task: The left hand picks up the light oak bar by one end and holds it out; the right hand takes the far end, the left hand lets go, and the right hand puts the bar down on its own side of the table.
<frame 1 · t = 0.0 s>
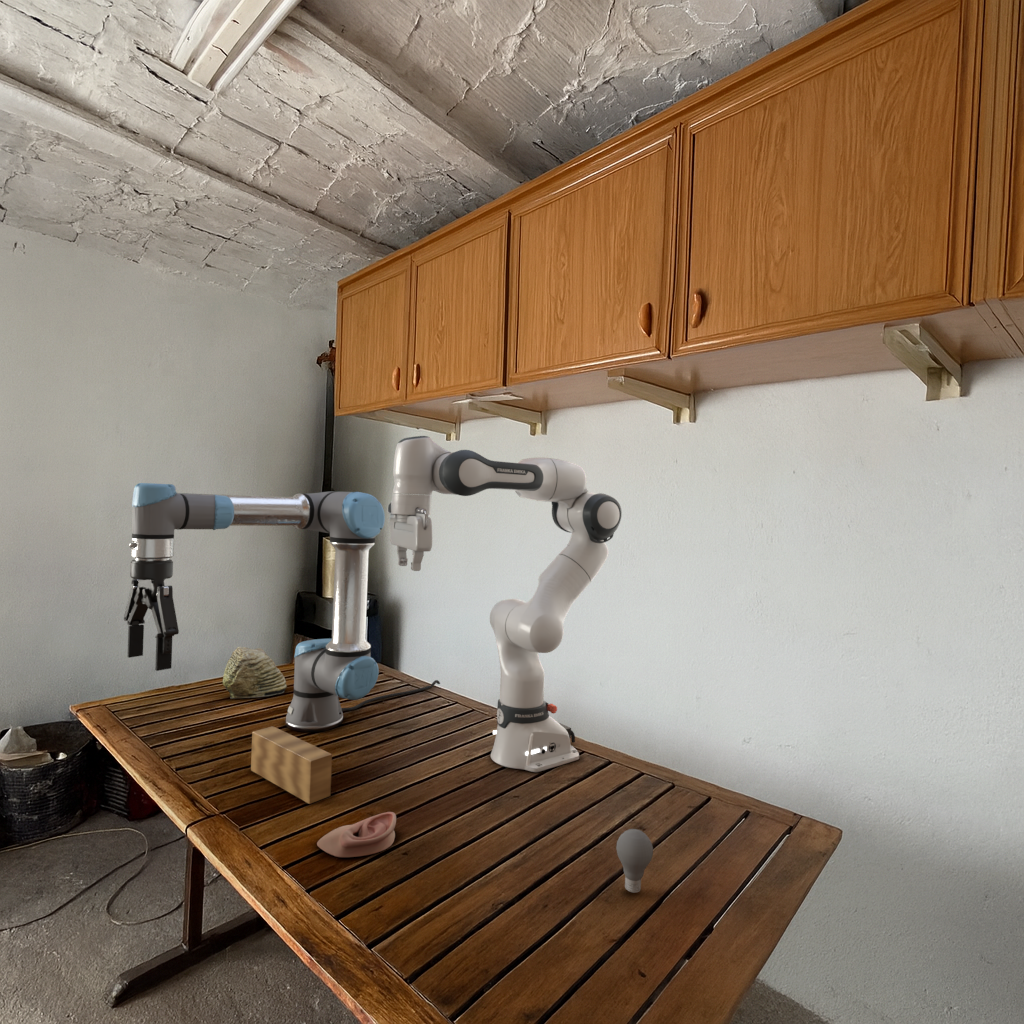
left hand: (148, 662, 129), 28 cm above the table, tool pointing down, fingers open, 13 cm apart
right hand: (408, 568, 144), 48 cm above the table, tool pointing down, fingers open, 8 cm apart
anatomical model: (357, 842, 117), on the table
light bulb: (632, 891, 106), on the table
fossil: (254, 694, 198), on the table
bar: (289, 782, 140), on the table
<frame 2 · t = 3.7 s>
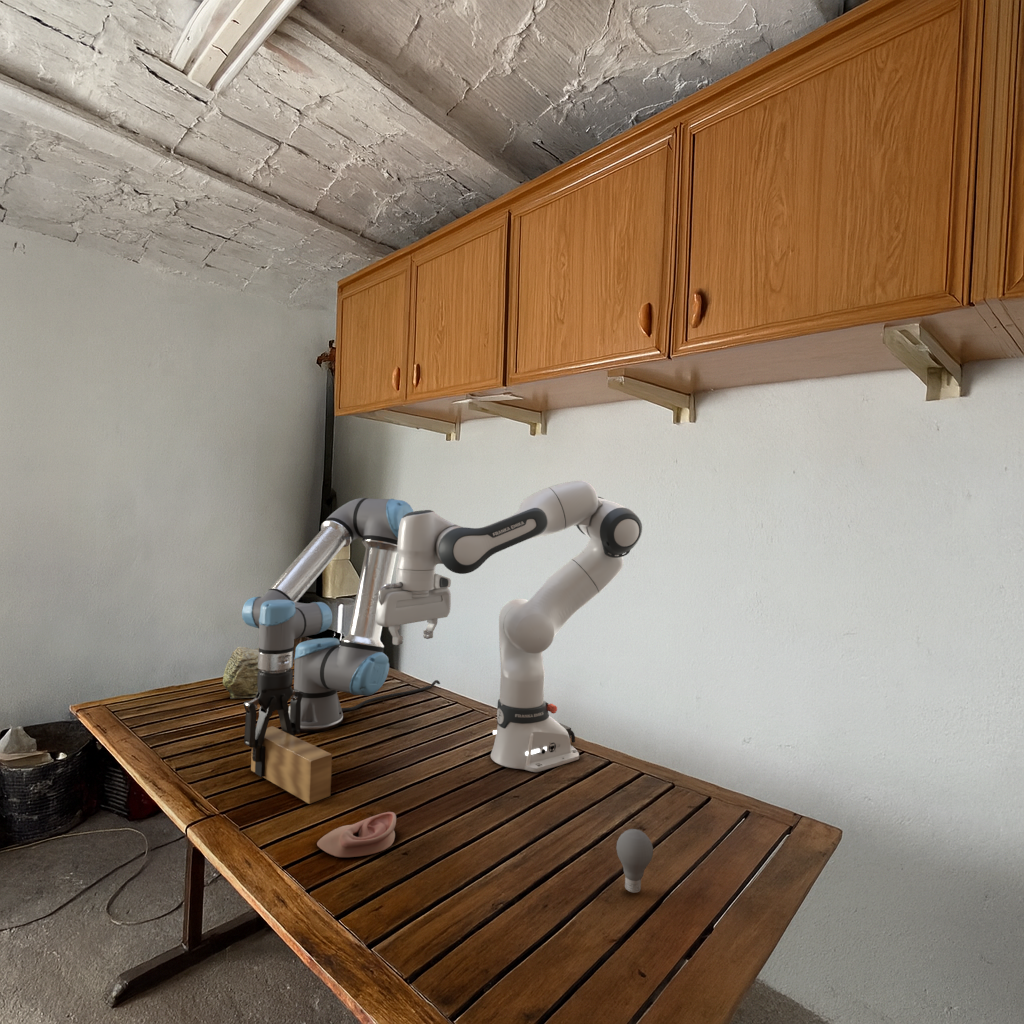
left hand: (271, 770, 144), 1 cm above the table, tool pointing down, fingers closed on bar, 5 cm apart
right hand: (413, 641, 145), 31 cm above the table, tool pointing down, fingers open, 8 cm apart
bar: (289, 782, 140), on the table, touching left hand
everything else where it was.
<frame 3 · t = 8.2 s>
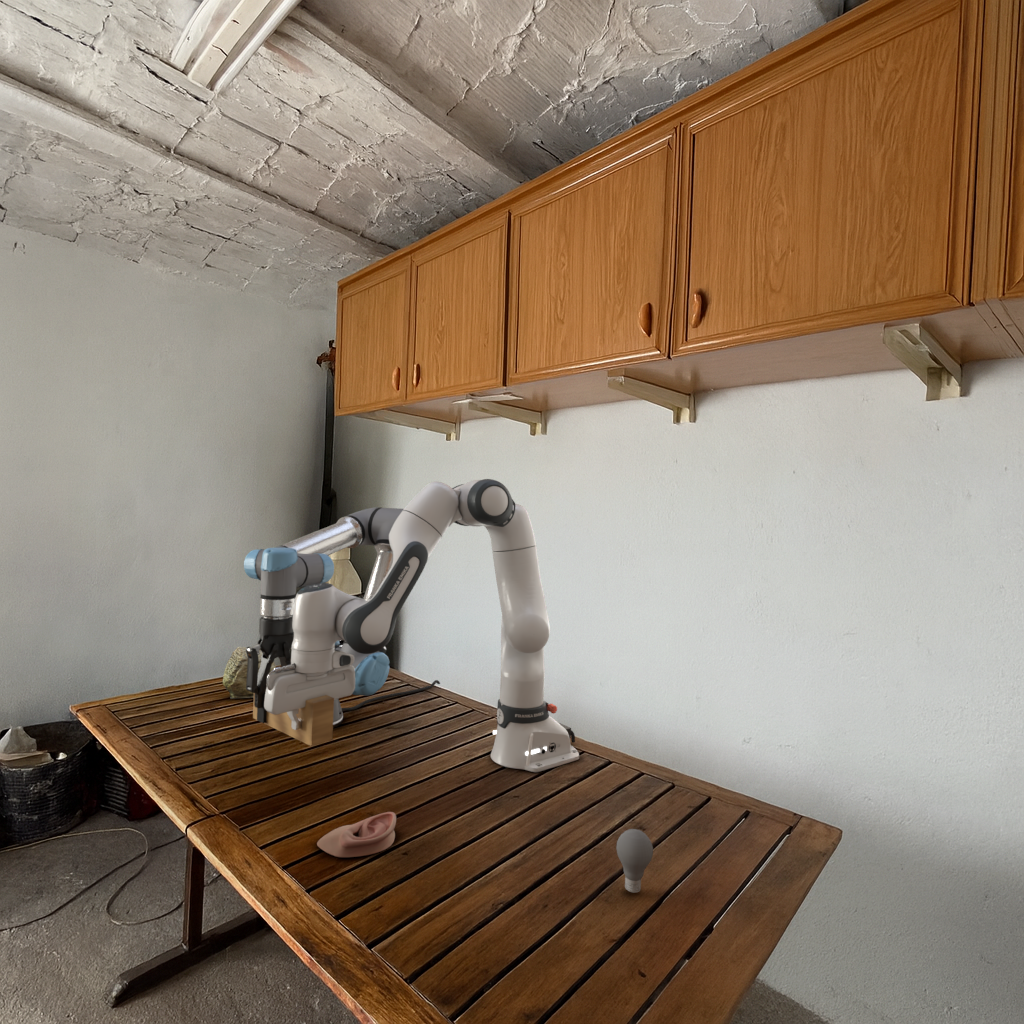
left hand: (273, 717, 144), 13 cm above the table, tool pointing down, fingers closed on bar, 5 cm apart
right hand: (310, 724, 135), 15 cm above the table, tool pointing down, fingers closed on bar, 5 cm apart
bar: (291, 728, 139), point 12 cm above the table, touching left hand, right hand
everything else where it was.
when the left hand's fingers open (13 cm above the table, at t = 9.1 s): bar stays where it is, held by the right hand.
when the right hand's fingers open (4 cm above the table, at t = 17.7 s): bar drops 1 cm, on the table.
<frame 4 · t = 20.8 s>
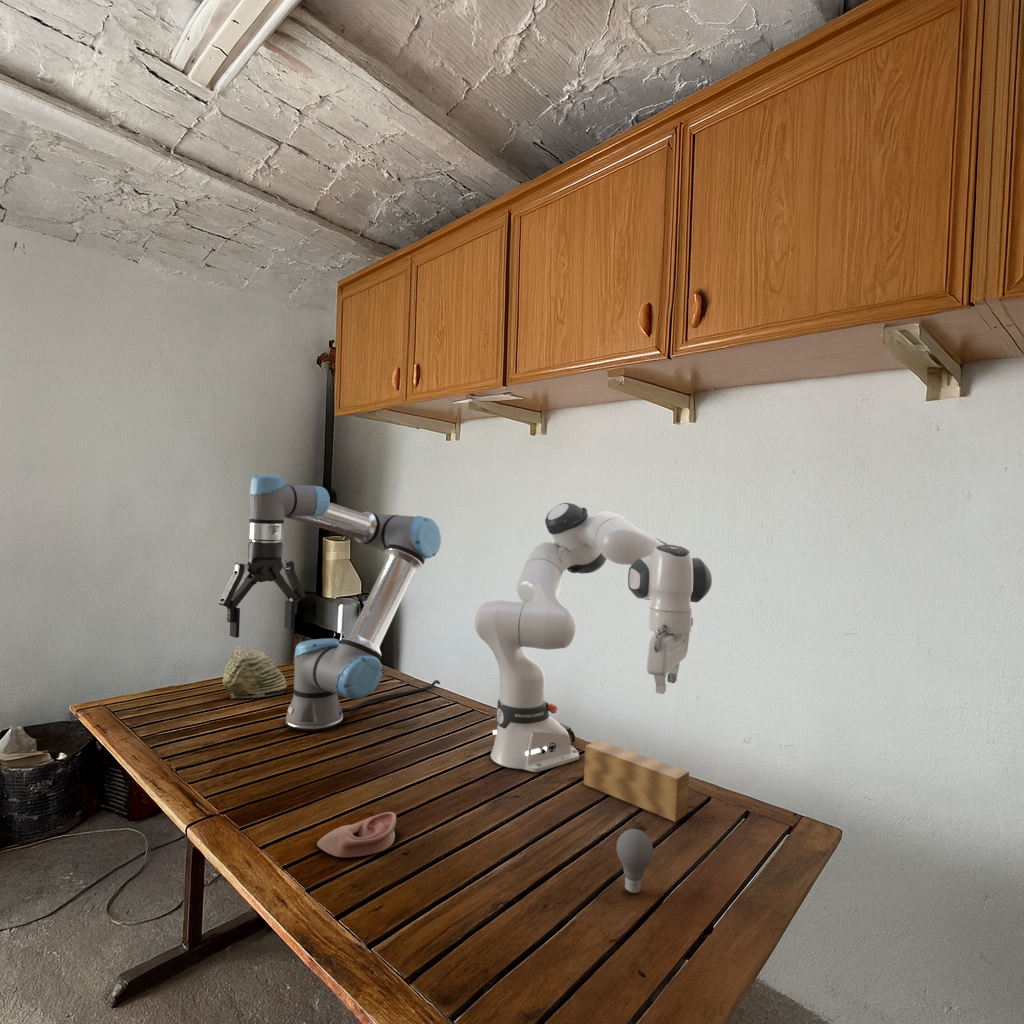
left hand: (262, 632, 147), 31 cm above the table, tool pointing down, fingers open, 13 cm apart
right hand: (666, 687, 134), 26 cm above the table, tool pointing down, fingers open, 8 cm apart
bar: (633, 798, 139), on the table
everything else where it was.
at the end: bar inside the target area (6.8 cm from its centre), on the table; the left hand is holding nothing; the right hand is holding nothing; bar at rest at the end (0.0 cm/s) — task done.
